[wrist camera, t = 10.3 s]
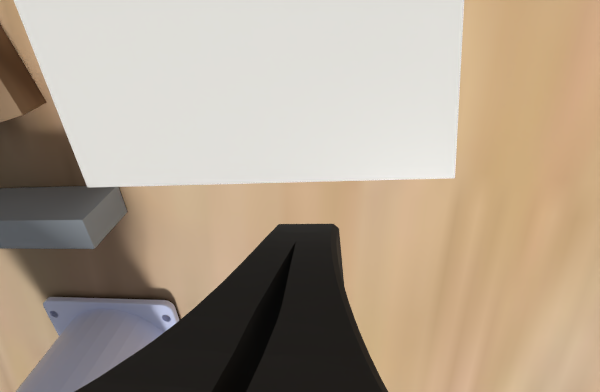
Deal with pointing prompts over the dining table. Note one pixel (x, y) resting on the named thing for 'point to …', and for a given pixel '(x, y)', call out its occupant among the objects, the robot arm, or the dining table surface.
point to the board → (252, 88)
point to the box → (58, 216)
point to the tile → (15, 83)
